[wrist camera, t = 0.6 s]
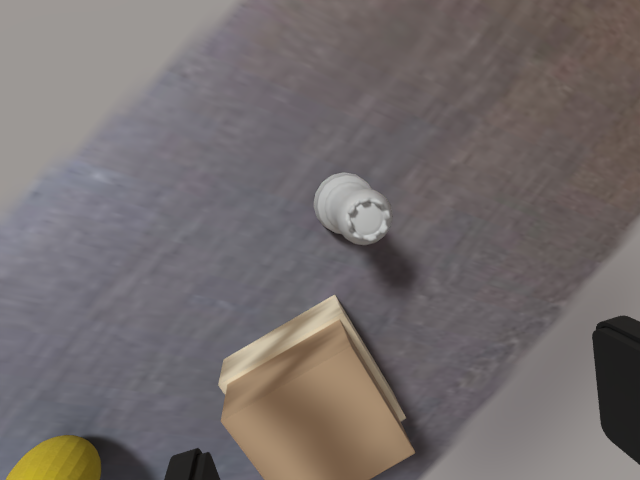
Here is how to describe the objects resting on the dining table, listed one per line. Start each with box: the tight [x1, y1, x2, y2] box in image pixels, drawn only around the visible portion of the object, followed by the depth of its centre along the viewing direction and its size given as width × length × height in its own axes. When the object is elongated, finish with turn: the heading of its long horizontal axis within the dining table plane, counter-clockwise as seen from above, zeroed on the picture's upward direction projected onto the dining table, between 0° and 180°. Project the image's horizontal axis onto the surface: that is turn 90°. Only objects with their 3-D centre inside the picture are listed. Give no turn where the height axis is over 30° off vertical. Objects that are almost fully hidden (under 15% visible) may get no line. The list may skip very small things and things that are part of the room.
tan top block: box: [221, 319, 415, 480], centre depth 28 cm, size 9×9×4 cm
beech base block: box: [218, 295, 406, 422], centre depth 32 cm, size 10×10×4 cm
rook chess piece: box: [314, 172, 393, 245], centre depth 27 cm, size 4×4×8 cm
